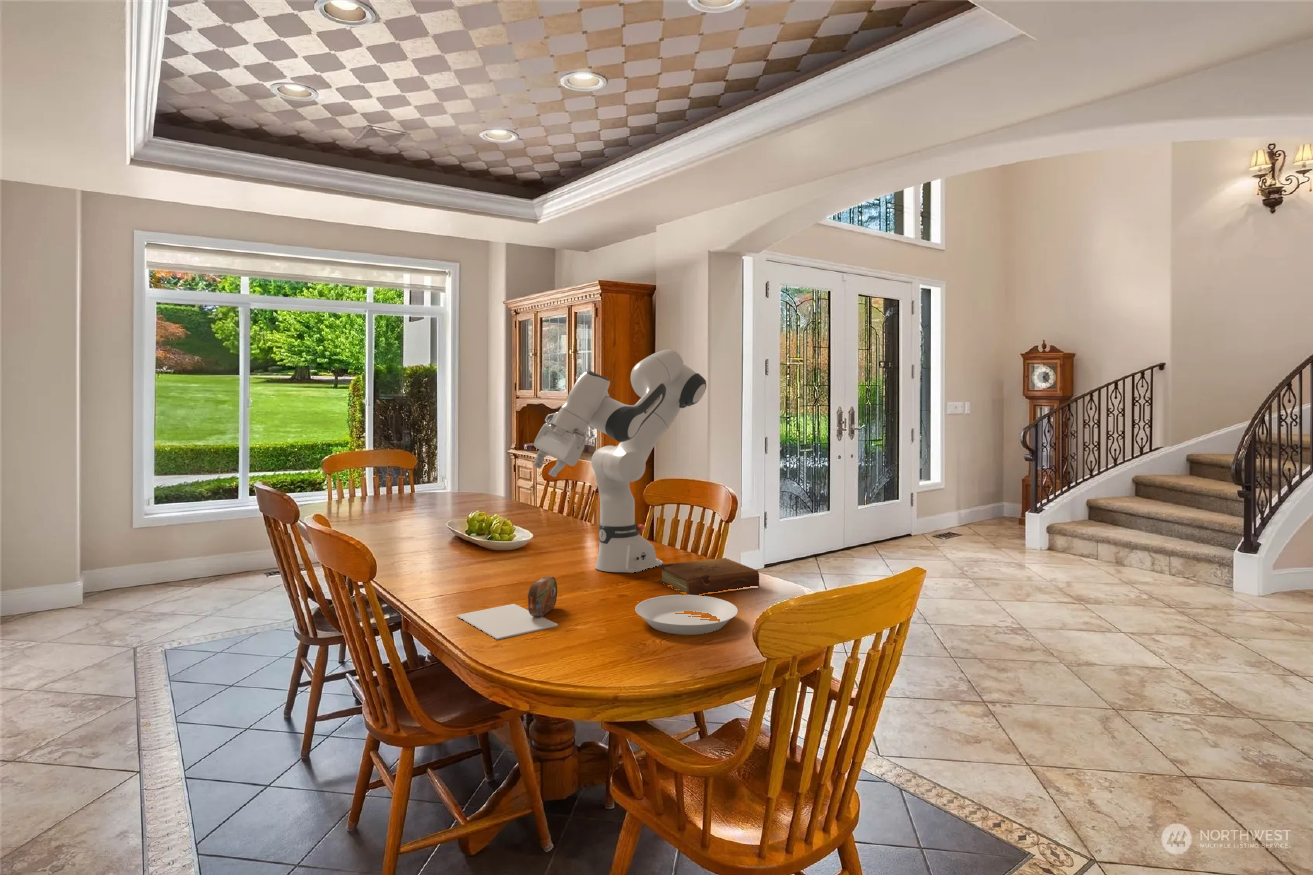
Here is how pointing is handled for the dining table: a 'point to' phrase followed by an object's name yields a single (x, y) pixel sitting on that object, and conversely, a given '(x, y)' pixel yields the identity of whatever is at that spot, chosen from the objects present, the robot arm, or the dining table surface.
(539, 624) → the mat
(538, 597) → the tin
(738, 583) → the diary
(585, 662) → the dining table surface
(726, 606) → the bowl
